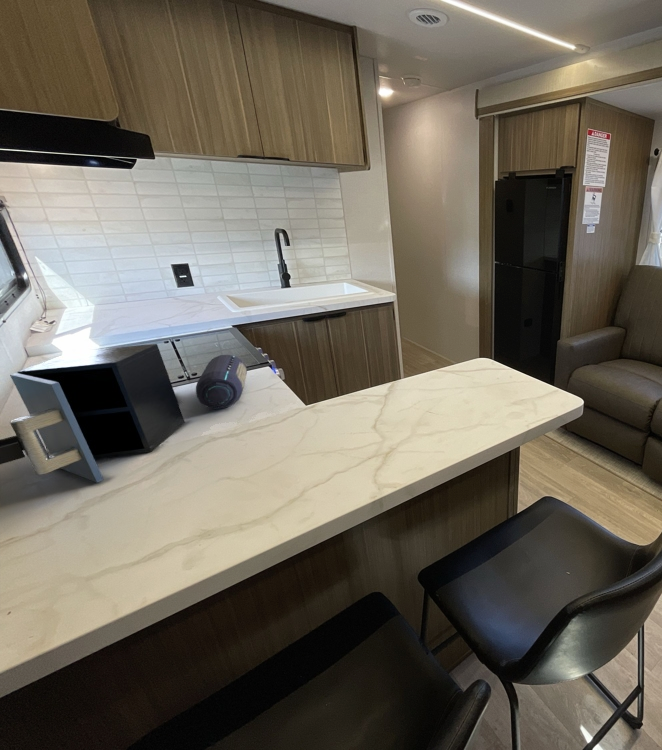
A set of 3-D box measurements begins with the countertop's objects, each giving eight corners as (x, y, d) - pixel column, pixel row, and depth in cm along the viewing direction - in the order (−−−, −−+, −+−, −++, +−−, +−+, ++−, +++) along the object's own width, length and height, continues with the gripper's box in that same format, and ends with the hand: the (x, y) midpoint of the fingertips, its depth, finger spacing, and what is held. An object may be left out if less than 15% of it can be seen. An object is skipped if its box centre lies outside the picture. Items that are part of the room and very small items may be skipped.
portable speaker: (245, 408, 104) (235, 372, 101) (199, 417, 100) (187, 380, 97) (251, 379, 125) (243, 348, 122) (213, 386, 121) (203, 354, 118)
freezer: (151, 451, 85) (115, 362, 78) (62, 463, 82) (16, 371, 75) (185, 422, 97) (157, 343, 91) (109, 432, 95) (74, 351, 88)
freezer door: (56, 501, 69) (2, 397, 63) (16, 482, 76) (-38, 385, 69) (103, 479, 75) (58, 382, 68) (62, 464, 81) (17, 373, 75)
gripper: (-202, 515, 59) (32, 449, 75) (-255, 573, 48) (30, 482, 64) (-237, 472, 56) (13, 413, 72) (-301, 523, 46) (8, 441, 62)
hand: (21, 446), depth 68 cm, fingers open, 3 cm apart
